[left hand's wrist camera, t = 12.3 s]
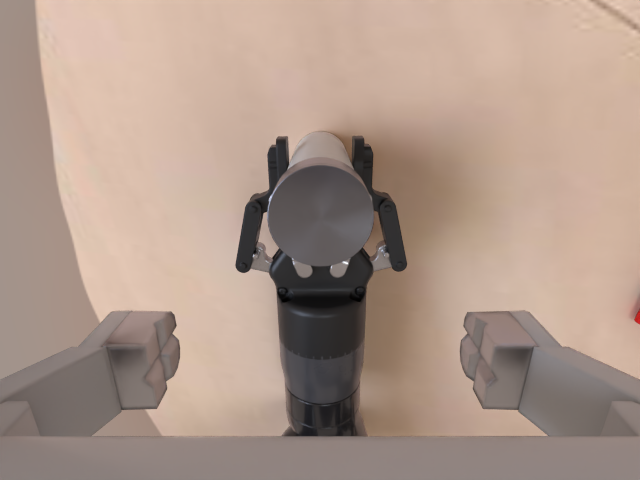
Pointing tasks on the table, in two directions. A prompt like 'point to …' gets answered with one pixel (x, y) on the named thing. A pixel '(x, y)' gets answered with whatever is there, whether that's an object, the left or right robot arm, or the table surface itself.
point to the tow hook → (637, 318)
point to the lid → (320, 212)
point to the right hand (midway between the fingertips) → (319, 138)
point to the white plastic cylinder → (320, 148)
